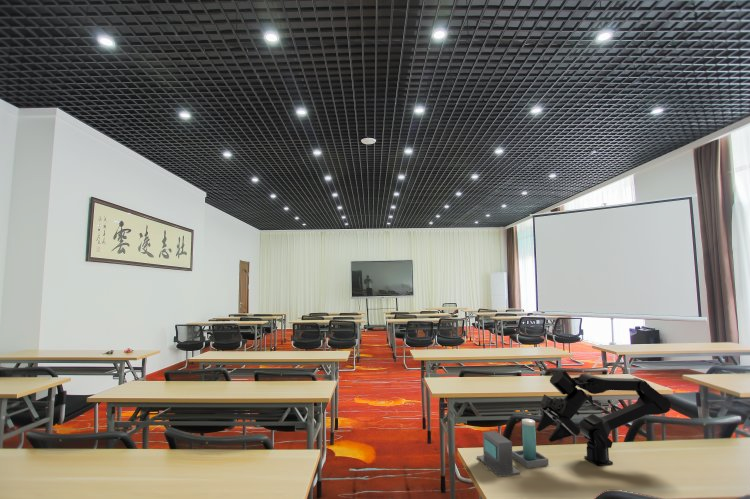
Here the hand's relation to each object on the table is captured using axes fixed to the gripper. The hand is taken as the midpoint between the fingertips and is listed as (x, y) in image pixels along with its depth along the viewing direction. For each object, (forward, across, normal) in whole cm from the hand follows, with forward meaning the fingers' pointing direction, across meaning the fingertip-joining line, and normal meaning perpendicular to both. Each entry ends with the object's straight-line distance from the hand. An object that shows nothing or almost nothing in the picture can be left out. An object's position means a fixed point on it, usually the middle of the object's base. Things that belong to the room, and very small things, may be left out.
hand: (543, 435), depth 132 cm
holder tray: (+10, 0, +2) cm, 10 cm away
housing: (+19, +3, -7) cm, 20 cm away
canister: (+9, 0, +2) cm, 9 cm away
